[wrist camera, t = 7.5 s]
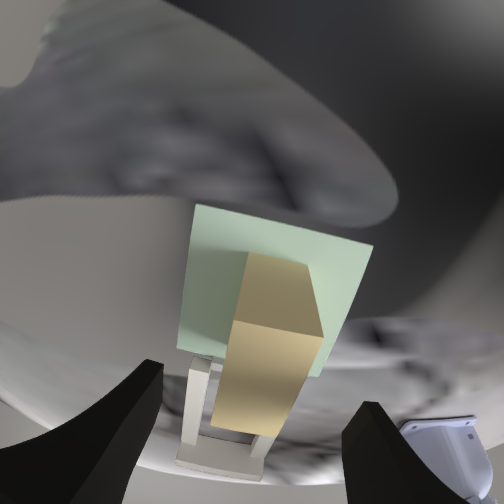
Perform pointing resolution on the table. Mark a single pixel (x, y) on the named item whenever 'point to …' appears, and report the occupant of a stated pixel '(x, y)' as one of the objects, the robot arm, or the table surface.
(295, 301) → the tan rectangular block
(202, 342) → the mat
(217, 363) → the dispenser
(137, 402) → the robot arm
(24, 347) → the table surface
